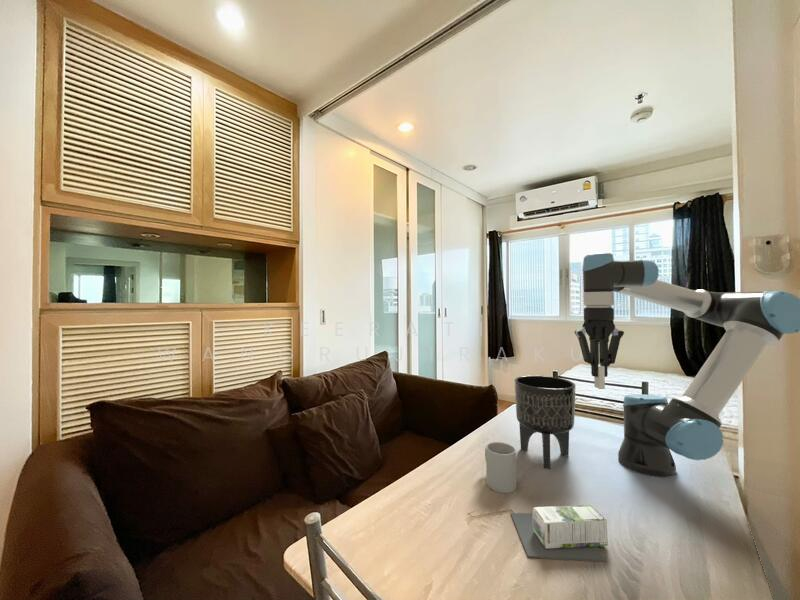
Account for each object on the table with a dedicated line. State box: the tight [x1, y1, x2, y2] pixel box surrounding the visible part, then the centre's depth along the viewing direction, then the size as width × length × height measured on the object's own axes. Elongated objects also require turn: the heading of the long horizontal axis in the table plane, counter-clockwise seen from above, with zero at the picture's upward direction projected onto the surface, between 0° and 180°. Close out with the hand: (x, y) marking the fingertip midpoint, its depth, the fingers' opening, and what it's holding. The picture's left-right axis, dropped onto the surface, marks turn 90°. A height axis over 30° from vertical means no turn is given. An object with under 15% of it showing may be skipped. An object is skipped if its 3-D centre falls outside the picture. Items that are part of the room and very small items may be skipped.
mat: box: [510, 512, 607, 563], centre depth 75 cm, size 16×14×1 cm
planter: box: [514, 375, 576, 470], centre depth 113 cm, size 20×20×26 cm
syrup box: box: [532, 504, 609, 548], centre depth 73 cm, size 6×6×14 cm
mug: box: [484, 441, 517, 494], centre depth 97 cm, size 12×8×11 cm
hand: (599, 387), depth 93 cm, fingers closed
